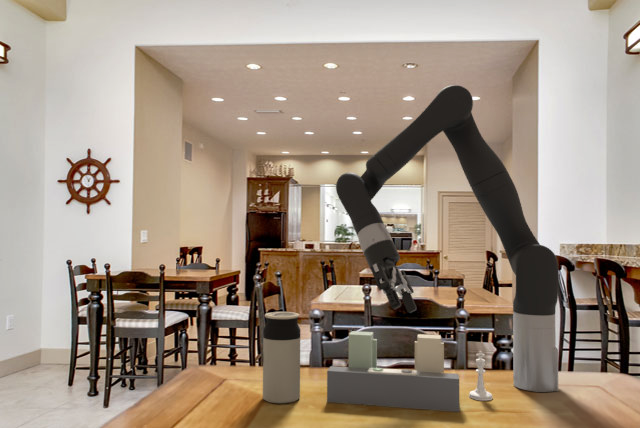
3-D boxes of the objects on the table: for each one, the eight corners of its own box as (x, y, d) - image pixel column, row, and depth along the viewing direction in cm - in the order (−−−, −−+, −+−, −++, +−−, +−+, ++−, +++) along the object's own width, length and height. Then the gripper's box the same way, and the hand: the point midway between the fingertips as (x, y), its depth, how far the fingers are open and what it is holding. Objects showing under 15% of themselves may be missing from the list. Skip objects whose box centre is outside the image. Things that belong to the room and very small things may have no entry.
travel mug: (306, 396, 116) (306, 313, 117) (288, 406, 109) (289, 318, 109) (274, 391, 119) (275, 310, 120) (255, 401, 112) (256, 315, 113)
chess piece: (493, 401, 113) (493, 354, 113) (469, 399, 114) (469, 352, 114) (491, 394, 118) (490, 349, 118) (468, 393, 119) (468, 348, 119)
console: (456, 394, 118) (456, 362, 118) (459, 411, 106) (459, 376, 107) (337, 385, 124) (337, 355, 124) (327, 401, 112) (327, 368, 112)
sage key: (376, 379, 122) (376, 331, 122) (374, 385, 117) (374, 335, 117) (349, 377, 123) (349, 330, 124) (345, 384, 118) (345, 334, 119)
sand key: (443, 383, 119) (443, 334, 119) (444, 390, 114) (444, 338, 114) (414, 382, 120) (414, 333, 121) (413, 388, 115) (414, 337, 116)
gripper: (377, 232, 118) (406, 298, 111) (403, 244, 130) (431, 305, 122) (350, 248, 121) (377, 314, 113) (378, 259, 132) (404, 319, 125)
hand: (405, 309), depth 118 cm, fingers open, 8 cm apart
